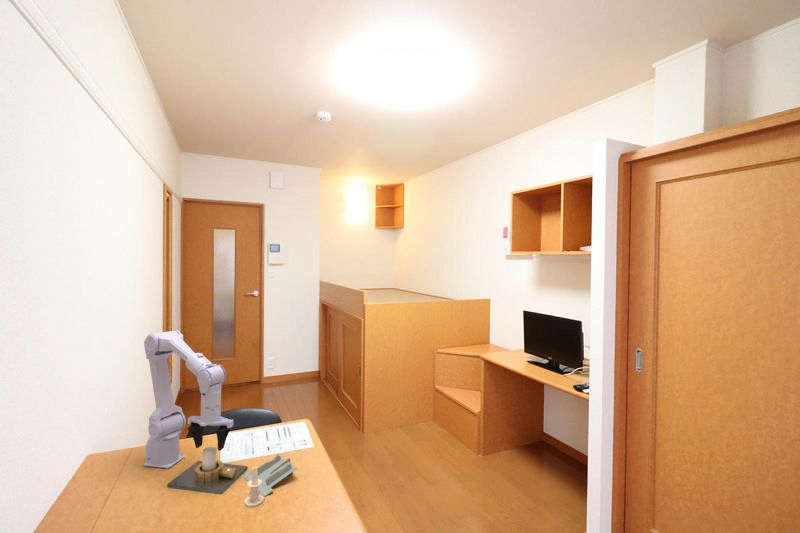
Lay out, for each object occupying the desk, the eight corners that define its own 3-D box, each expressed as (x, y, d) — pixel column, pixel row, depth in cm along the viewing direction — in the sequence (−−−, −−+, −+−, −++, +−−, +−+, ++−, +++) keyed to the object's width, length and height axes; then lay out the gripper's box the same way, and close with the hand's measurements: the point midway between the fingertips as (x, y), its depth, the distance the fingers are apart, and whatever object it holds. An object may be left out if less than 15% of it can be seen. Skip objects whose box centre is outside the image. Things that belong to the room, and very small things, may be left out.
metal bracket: (278, 447, 132) (301, 464, 121) (282, 461, 133) (305, 479, 122) (237, 473, 122) (258, 494, 111) (242, 489, 123) (263, 511, 112)
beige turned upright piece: (240, 502, 110) (241, 465, 110) (257, 493, 114) (258, 458, 114) (250, 509, 107) (251, 472, 107) (267, 500, 111) (268, 464, 111)
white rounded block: (199, 477, 120) (199, 451, 120) (207, 470, 124) (208, 446, 124) (210, 479, 119) (211, 453, 119) (218, 472, 123) (219, 447, 123)
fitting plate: (167, 487, 116) (167, 474, 116) (198, 463, 130) (198, 452, 130) (221, 494, 113) (222, 481, 113) (247, 469, 127) (247, 457, 127)
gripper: (181, 407, 119) (180, 451, 119) (224, 411, 116) (223, 456, 116) (196, 399, 125) (195, 441, 126) (237, 403, 123) (236, 445, 123)
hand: (209, 447), depth 122 cm, fingers open, 7 cm apart
